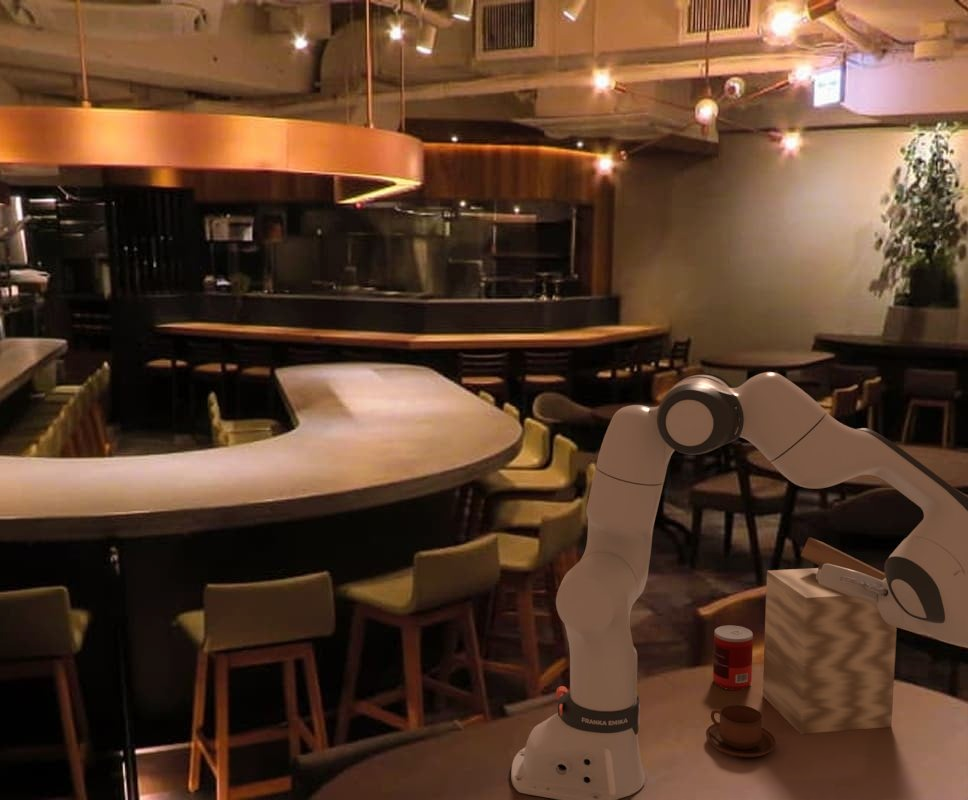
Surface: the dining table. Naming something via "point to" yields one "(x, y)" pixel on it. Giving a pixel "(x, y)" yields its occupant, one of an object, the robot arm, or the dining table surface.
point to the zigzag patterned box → (826, 656)
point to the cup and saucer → (740, 732)
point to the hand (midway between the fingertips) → (839, 582)
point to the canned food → (732, 657)
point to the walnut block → (836, 558)
